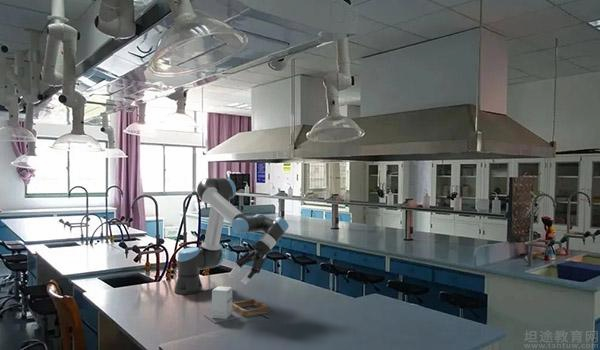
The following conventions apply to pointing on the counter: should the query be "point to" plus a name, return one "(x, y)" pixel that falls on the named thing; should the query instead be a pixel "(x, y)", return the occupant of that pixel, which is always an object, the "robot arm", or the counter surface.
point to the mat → (217, 320)
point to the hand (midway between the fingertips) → (236, 280)
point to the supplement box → (221, 302)
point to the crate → (246, 313)
